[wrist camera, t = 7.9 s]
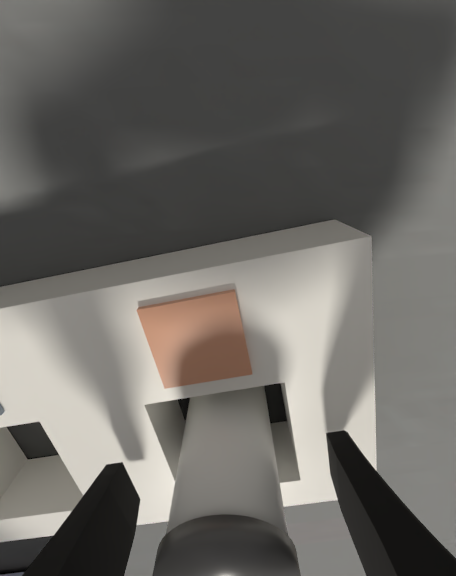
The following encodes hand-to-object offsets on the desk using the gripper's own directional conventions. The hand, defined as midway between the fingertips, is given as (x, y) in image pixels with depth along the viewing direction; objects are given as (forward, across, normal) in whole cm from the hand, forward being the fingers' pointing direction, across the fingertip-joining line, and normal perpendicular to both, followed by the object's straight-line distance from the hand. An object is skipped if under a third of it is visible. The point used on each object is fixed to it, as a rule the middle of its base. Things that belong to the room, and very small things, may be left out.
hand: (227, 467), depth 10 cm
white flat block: (+4, +4, -2) cm, 6 cm away
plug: (+4, 0, 0) cm, 4 cm away
